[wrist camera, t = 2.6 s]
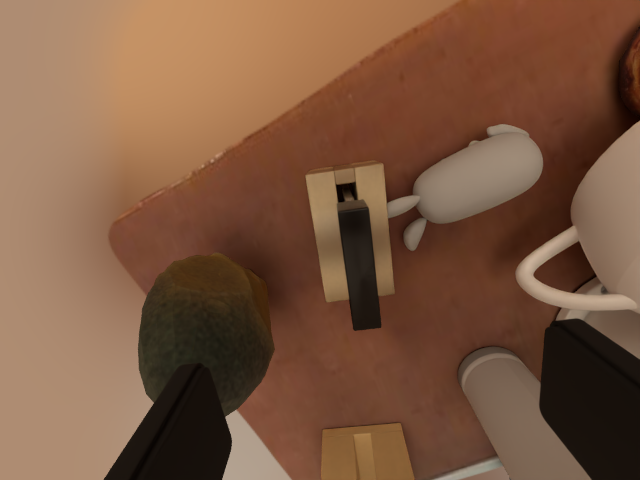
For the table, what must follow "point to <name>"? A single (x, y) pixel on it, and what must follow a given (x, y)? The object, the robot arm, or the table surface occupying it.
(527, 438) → the travel mug
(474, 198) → the rabbit figurine
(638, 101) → the pastry
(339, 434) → the u-shaped wooden stand
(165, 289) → the decorative stone
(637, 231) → the teapot
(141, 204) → the table surface
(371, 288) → the knife
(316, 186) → the knife block
